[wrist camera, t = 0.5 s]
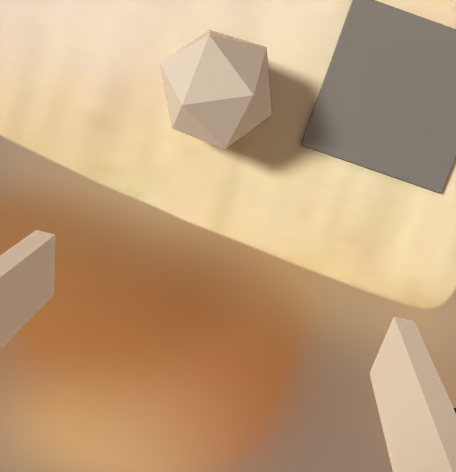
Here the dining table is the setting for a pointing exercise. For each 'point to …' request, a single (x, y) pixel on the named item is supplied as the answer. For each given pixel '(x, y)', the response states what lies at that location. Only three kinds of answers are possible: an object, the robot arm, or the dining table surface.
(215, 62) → the die
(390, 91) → the pad
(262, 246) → the dining table surface
